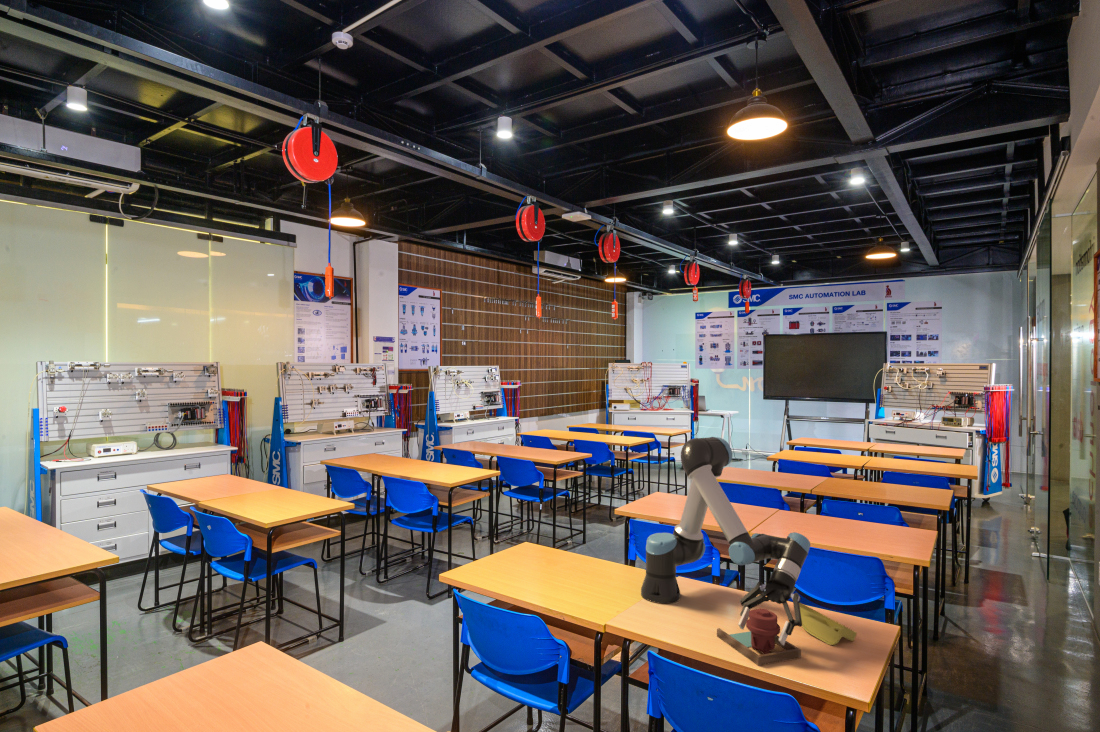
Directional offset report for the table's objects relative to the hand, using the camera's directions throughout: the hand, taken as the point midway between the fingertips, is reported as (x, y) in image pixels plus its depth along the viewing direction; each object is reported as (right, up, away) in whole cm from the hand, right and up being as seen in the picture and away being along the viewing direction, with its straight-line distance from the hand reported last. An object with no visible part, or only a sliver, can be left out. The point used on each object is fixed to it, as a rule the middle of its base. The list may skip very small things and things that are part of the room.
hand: (760, 634), depth 173 cm
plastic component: (+27, -7, +15) cm, 32 cm away
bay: (0, -6, +4) cm, 7 cm away
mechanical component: (+1, -6, +1) cm, 6 cm away
